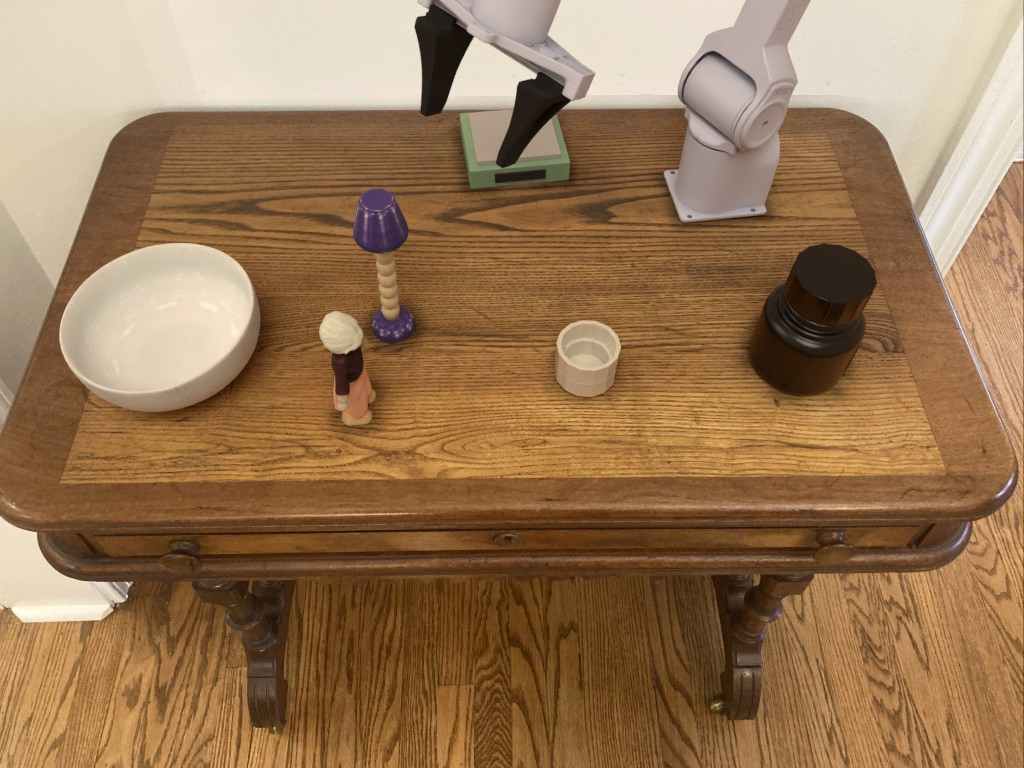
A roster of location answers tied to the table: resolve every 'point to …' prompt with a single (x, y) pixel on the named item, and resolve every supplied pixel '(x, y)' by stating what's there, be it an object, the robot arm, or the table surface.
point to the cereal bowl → (161, 327)
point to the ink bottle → (813, 320)
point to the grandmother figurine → (348, 367)
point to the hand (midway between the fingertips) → (467, 138)
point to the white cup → (587, 358)
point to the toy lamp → (384, 259)
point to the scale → (534, 165)
